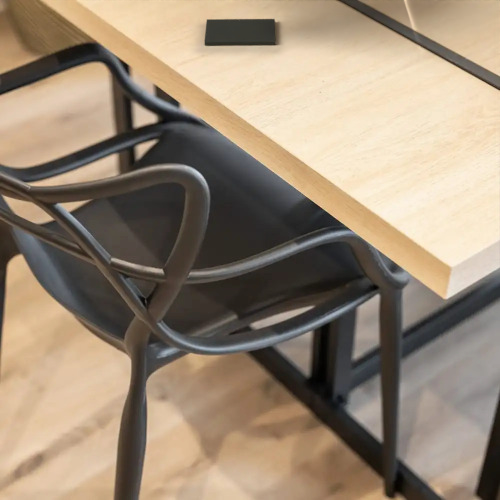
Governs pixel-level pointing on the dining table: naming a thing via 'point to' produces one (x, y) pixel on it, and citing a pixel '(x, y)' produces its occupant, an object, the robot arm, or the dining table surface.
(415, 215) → the dining table surface
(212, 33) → the coaster
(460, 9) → the dining table surface
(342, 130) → the dining table surface
